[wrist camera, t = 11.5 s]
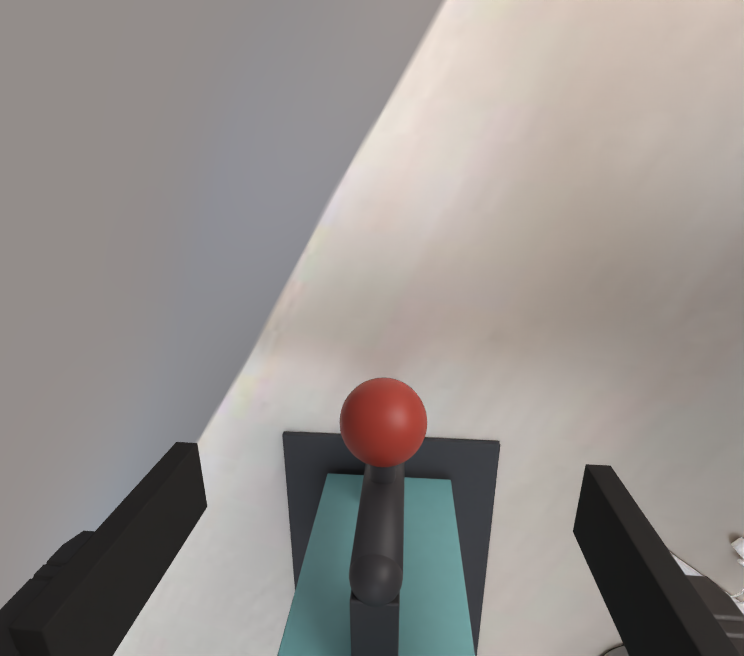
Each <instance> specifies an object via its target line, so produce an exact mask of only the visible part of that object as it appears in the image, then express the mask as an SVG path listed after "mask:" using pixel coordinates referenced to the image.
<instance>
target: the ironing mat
mask: <svg viewBox="0 0 744 656" xmlns="http://www.w3.org/2000/svg"><path fill="white" fill-rule="evenodd" d="M283 447H284V459H285V471H286V483H287V496H288V508H289V520H290V532H291V545H292V557H293V569H294V581H295V590H296V586H297V583H298V579H299V575H300V572H301V568H302V564H303V561H304V557H305V554H306V550H307V546H308V543H309V539H310V535H311V532H312V528H313V525H314V521H315V517H316V514H317V510H318V506H319V503H320V499H321V495H322V492H323V488H324V485H325V481H326V477H327V474H328V473H329V474H348V475H364V470H365V464H366V463H364V462H362V461H361V460H359V459H358V458H356V457H355V456H354V455H353V454H352V453H351V452H350V451H349V449H348V448H347V446H346V444H345V443H344V440H343V438H342V435H341V434H328V433H305V432H284V433H283ZM499 451H500V443H499V441H486V440H464V439H441V438H424V440H423V443H422V445H421V446H420V448H419V449H418V451H417V452H416V453H415V454H414V455H413V456H412V457H411V458H409V459H408V460H406V461H405V477H407V478H426V479H445V480H451V486H452V493H453V500H454V508H455V515H456V522H457V529H458V537H459V544H460V551H461V558H462V566H463V573H464V580H465V587H466V595H467V602H468V609H469V617H470V624H471V631H472V638H473V646H474V653H475V656H477V648H478V639H479V630H480V621H481V612H482V603H483V594H484V586H485V577H486V568H487V559H488V550H489V541H490V532H491V523H492V514H493V505H494V496H495V487H496V478H497V469H498V460H499Z"/></svg>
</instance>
